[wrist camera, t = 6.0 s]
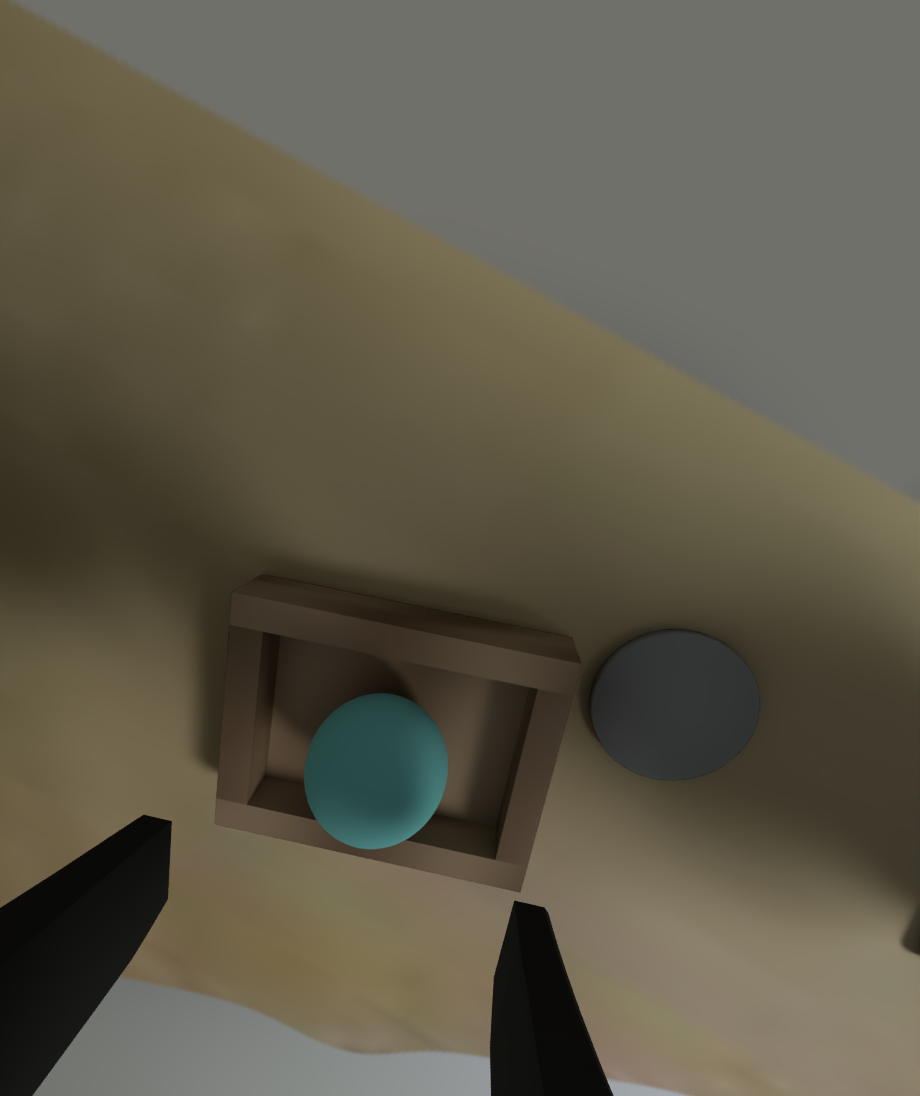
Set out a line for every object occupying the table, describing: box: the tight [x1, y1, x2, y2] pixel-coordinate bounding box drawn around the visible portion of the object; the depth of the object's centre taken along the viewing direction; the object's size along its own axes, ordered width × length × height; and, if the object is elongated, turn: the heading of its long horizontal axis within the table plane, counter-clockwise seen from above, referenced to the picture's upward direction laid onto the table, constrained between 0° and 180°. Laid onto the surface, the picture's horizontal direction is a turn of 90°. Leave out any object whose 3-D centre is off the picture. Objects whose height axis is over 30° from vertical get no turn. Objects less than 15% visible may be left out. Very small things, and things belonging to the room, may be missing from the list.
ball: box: [304, 693, 448, 849], centre depth 14 cm, size 4×4×4 cm
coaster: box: [590, 629, 760, 780], centre depth 15 cm, size 5×5×1 cm
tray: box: [214, 574, 582, 892], centre depth 15 cm, size 10×8×2 cm
